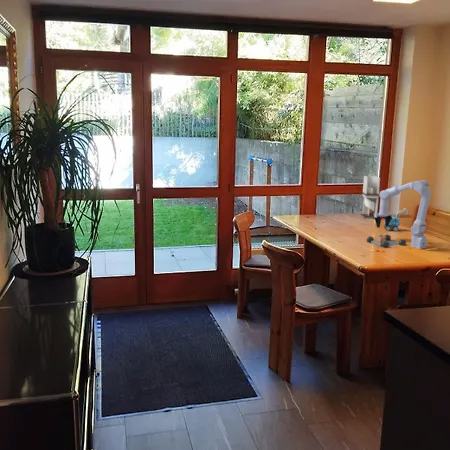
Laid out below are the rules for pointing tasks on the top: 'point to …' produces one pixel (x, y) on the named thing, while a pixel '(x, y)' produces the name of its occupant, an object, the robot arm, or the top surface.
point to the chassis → (386, 242)
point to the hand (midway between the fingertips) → (382, 227)
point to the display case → (370, 196)
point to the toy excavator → (395, 221)
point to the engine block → (380, 238)
